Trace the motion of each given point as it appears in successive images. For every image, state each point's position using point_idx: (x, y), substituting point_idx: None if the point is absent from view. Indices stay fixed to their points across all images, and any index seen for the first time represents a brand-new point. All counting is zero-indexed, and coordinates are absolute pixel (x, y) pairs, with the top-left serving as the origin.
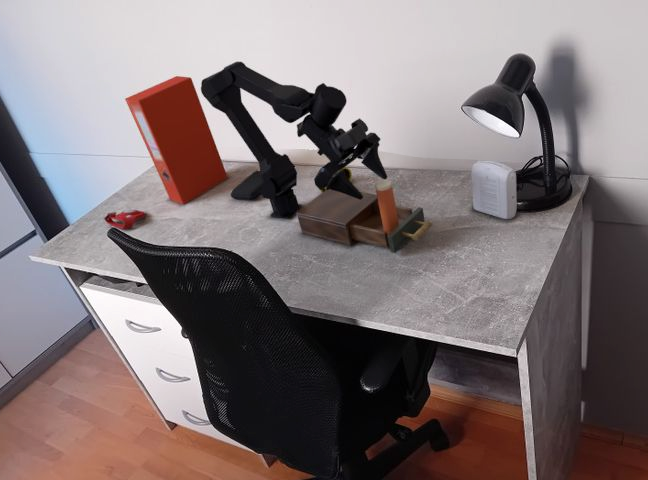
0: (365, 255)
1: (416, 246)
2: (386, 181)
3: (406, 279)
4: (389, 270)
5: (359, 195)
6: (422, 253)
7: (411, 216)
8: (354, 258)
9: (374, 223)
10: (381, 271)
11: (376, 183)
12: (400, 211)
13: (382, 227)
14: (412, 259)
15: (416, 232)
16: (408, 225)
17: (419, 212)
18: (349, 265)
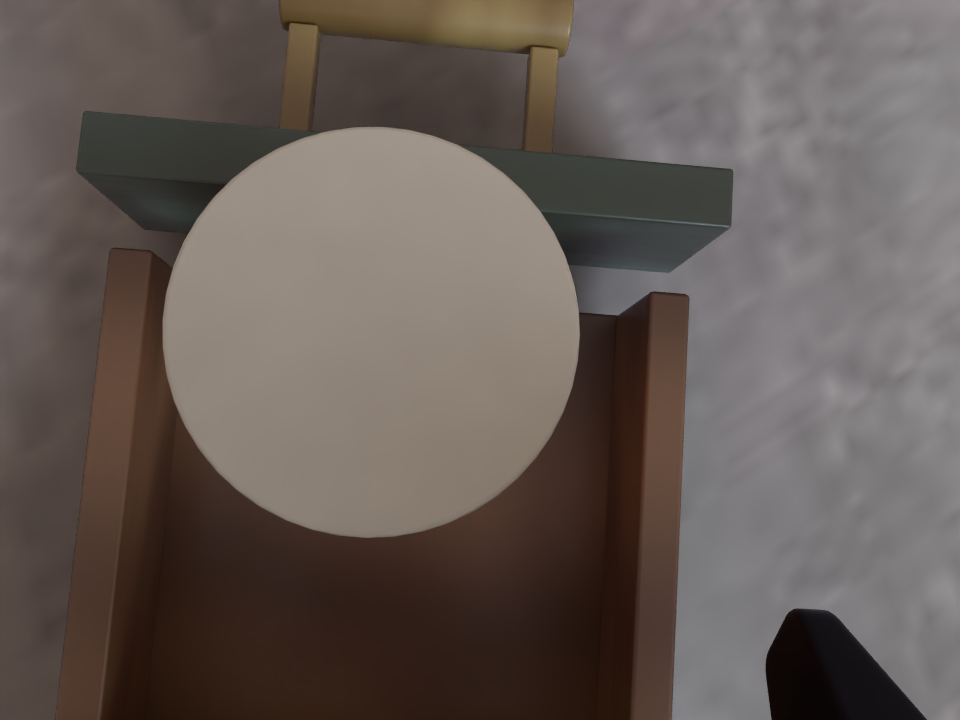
0: (735, 513)
1: (468, 133)
2: (274, 286)
3: (892, 6)
4: (844, 190)
5: (872, 673)
6: None
7: None
8: (809, 589)
9: (332, 671)
10: (879, 248)
11: (420, 489)
12: (148, 404)
13: None
14: (649, 80)
15: (520, 5)
16: None
17: (168, 123)
18: (912, 572)
